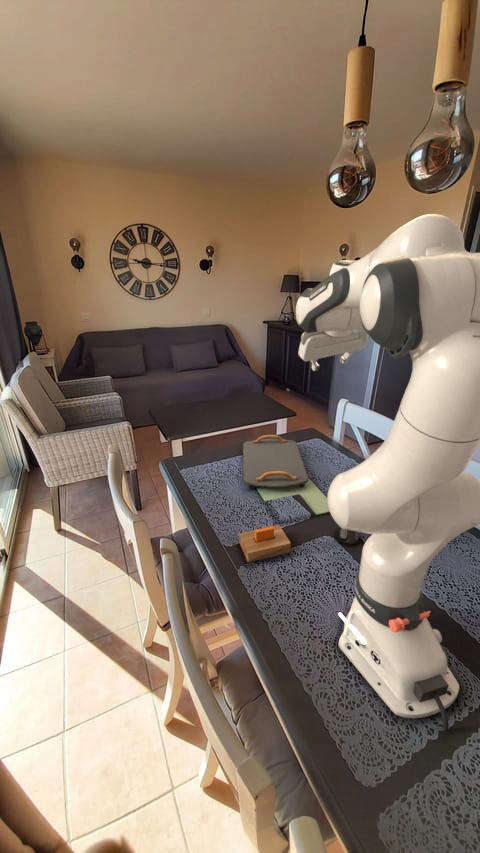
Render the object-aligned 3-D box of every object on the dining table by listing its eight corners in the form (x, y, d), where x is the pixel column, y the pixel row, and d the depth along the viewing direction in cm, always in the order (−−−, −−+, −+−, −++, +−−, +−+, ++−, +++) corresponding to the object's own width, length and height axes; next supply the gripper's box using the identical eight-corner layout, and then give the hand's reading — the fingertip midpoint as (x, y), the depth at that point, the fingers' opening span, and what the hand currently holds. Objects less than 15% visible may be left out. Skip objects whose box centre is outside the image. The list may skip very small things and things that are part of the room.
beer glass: (329, 535, 104) (333, 490, 98) (347, 526, 107) (351, 483, 101) (347, 549, 98) (352, 503, 92) (365, 540, 101) (371, 495, 95)
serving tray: (311, 492, 123) (311, 476, 120) (243, 494, 123) (242, 478, 121) (295, 443, 158) (295, 430, 156) (242, 445, 159) (242, 432, 156)
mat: (337, 510, 114) (337, 509, 114) (278, 523, 109) (278, 522, 109) (308, 478, 132) (308, 477, 131) (256, 489, 126) (256, 488, 126)
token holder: (290, 554, 97) (290, 542, 95) (248, 565, 94) (247, 553, 92) (279, 535, 104) (279, 524, 102) (239, 545, 101) (238, 533, 99)
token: (273, 546, 99) (273, 528, 96) (256, 550, 97) (256, 532, 95) (272, 543, 100) (272, 525, 97) (255, 547, 98) (254, 529, 96)
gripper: (308, 335, 92) (302, 379, 101) (376, 321, 97) (364, 364, 106) (297, 324, 96) (292, 367, 106) (363, 311, 101) (353, 353, 110)
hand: (329, 366), depth 106 cm, fingers open, 8 cm apart
